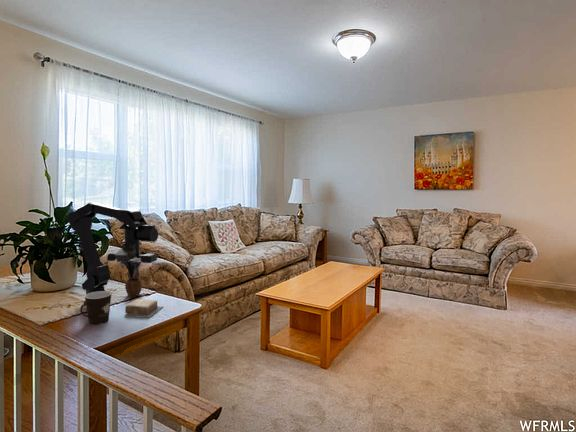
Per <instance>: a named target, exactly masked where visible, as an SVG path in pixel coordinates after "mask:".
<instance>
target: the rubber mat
mask: <svg viewBox="0 0 576 432" xmlns="http://www.w3.org/2000/svg"><path fill="white" fill-rule="evenodd" d="M163 308H164V306H161V305H160V306H159V305H157V308H156V309H155V310H154V311H152V312H151V313H149V314H148V315H141V314H128V313H125V314H124V316H125V317H134V318H135V317H136V318H145V319H146V318H147V319H149V318H151V317H153V316H154V315H155V314H157V313H158V312H160V311H161V310H162V309H163Z"/></svg>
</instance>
